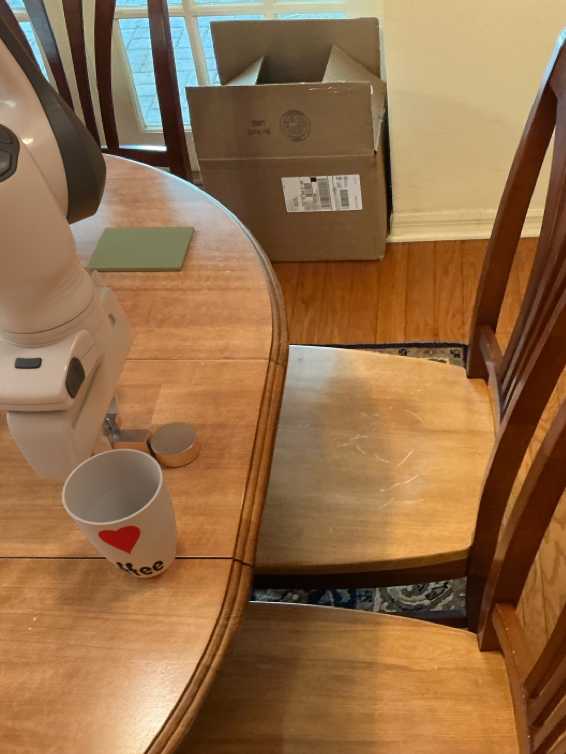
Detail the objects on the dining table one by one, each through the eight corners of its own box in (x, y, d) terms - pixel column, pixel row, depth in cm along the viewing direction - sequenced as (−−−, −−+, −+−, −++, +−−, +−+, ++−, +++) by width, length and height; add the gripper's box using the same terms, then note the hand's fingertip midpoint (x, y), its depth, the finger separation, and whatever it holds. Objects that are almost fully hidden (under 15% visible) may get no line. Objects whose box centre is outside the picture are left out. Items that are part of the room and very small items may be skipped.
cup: (87, 578, 69) (41, 510, 61) (133, 511, 74) (96, 439, 66) (166, 602, 68) (129, 535, 60) (208, 531, 72) (180, 460, 64)
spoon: (71, 466, 78) (62, 452, 76) (84, 433, 80) (76, 418, 78) (196, 467, 77) (190, 452, 75) (204, 434, 80) (199, 419, 78)
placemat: (87, 271, 97) (86, 268, 97) (106, 230, 102) (104, 227, 102) (181, 270, 97) (180, 267, 96) (194, 230, 102) (194, 226, 101)
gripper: (55, 256, 72) (106, 368, 84) (-23, 410, 60) (48, 517, 72) (121, 256, 72) (163, 368, 83) (56, 410, 60) (115, 518, 71)
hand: (110, 438), depth 77 cm, fingers closed on spoon, 2 cm apart
